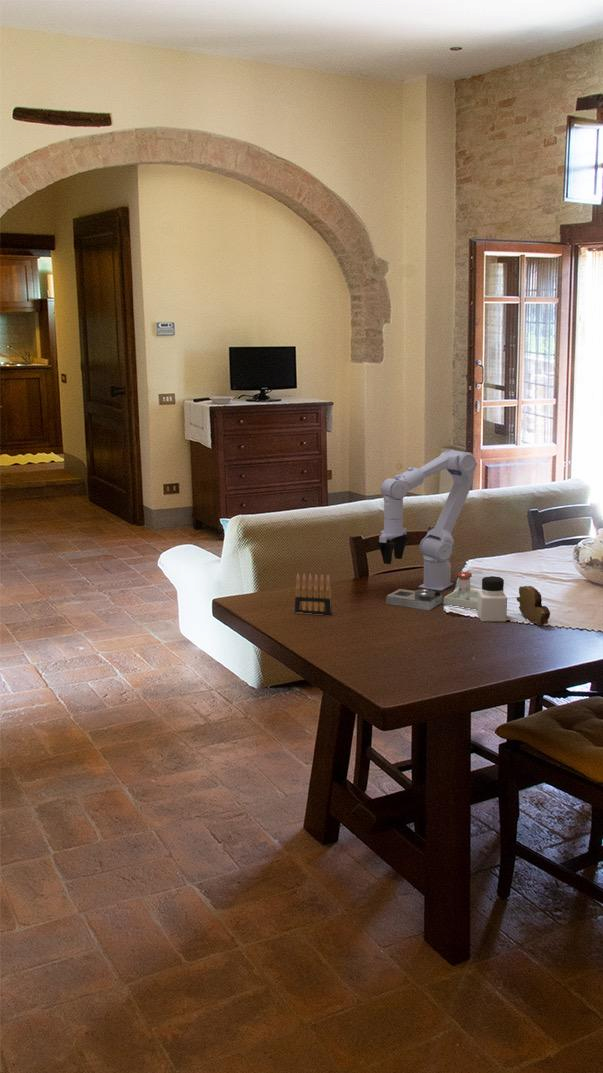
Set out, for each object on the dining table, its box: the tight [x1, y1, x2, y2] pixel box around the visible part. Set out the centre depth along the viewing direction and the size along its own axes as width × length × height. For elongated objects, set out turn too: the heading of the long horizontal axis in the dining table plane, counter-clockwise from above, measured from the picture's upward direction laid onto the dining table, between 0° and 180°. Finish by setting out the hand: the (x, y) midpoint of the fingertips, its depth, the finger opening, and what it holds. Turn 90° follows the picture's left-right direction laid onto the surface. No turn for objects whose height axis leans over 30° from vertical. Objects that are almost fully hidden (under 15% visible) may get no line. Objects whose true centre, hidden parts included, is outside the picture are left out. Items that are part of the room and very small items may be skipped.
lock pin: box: [457, 571, 473, 601], centre depth 294 cm, size 4×4×9 cm
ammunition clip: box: [294, 572, 333, 616], centre depth 285 cm, size 11×2×12 cm, turn 77°
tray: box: [443, 589, 478, 611], centre depth 295 cm, size 11×11×2 cm
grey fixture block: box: [385, 588, 443, 611], centre depth 295 cm, size 9×14×5 cm, turn 58°
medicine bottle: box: [476, 575, 508, 623], centre depth 279 cm, size 7×7×12 cm
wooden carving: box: [516, 585, 551, 626], centre depth 276 cm, size 16×5×10 cm, turn 18°
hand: (392, 561), depth 305 cm, fingers open, 7 cm apart
